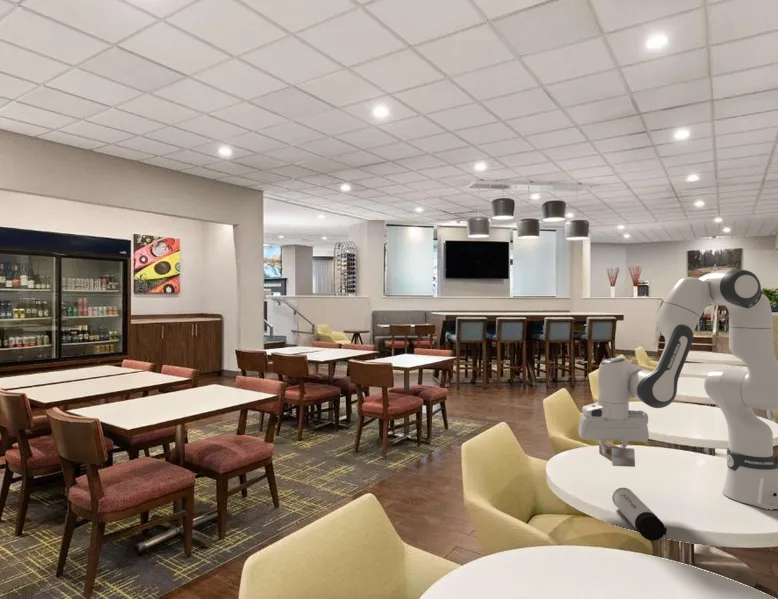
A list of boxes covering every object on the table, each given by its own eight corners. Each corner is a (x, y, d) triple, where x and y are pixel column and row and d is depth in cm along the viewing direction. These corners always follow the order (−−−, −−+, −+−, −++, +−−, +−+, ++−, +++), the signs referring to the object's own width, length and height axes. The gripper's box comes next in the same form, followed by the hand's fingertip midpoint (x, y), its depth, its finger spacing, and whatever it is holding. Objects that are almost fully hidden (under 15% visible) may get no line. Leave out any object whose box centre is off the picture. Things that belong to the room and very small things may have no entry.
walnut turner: (613, 454, 161) (613, 438, 162) (635, 466, 143) (634, 449, 143) (594, 453, 162) (594, 437, 162) (613, 465, 144) (613, 448, 144)
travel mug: (634, 510, 143) (665, 544, 123) (610, 506, 144) (638, 540, 124) (636, 489, 143) (668, 519, 123) (613, 485, 144) (641, 515, 124)
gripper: (644, 408, 155) (644, 452, 155) (577, 406, 157) (577, 449, 157) (652, 413, 148) (652, 458, 149) (582, 411, 151) (582, 456, 151)
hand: (613, 454), depth 153 cm, fingers closed on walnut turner, 3 cm apart
